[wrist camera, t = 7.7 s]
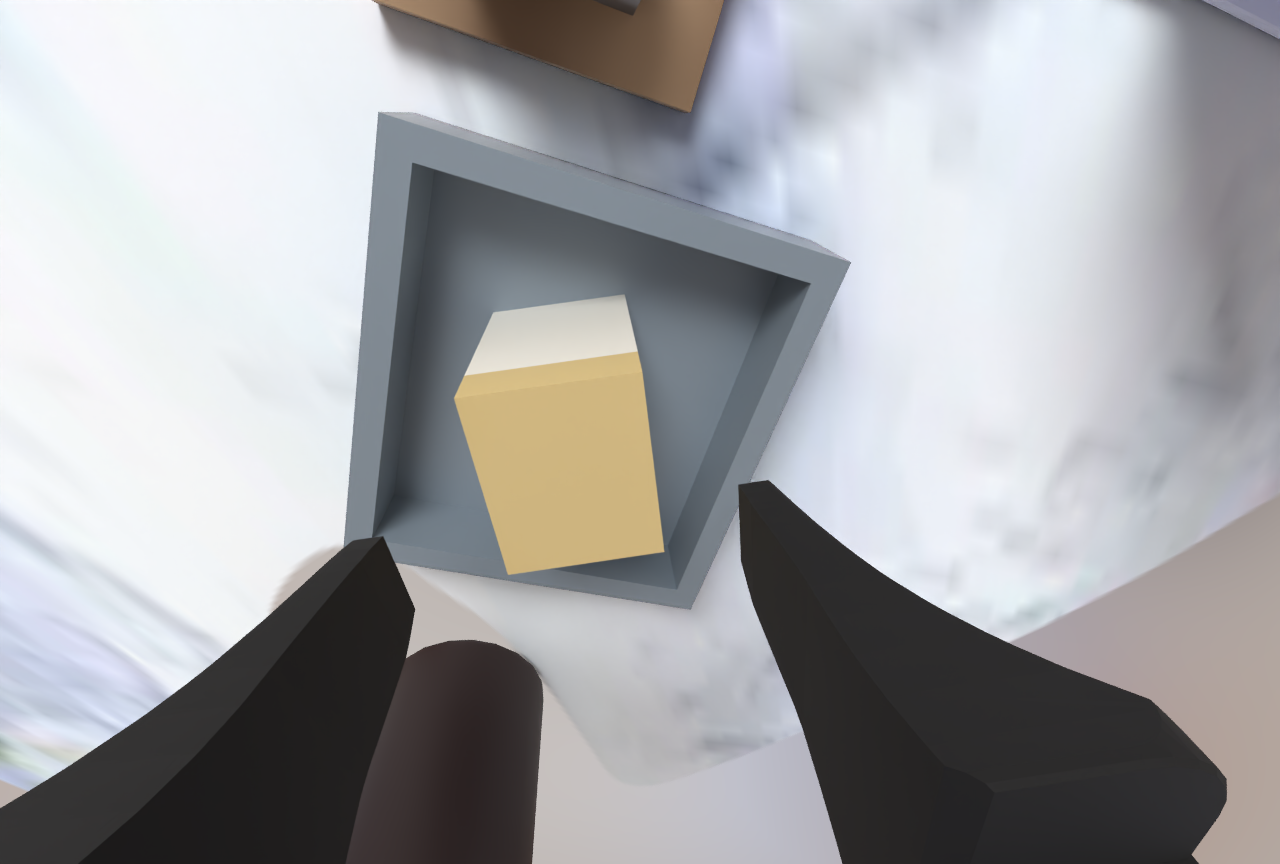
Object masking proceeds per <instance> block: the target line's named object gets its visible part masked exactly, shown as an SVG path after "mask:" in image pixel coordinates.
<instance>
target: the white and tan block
mask: <svg viewBox="0 0 1280 864" xmlns="http://www.w3.org/2000/svg"><path fill="white" fill-rule="evenodd" d="M454 400H455V404H456V407H457V410H458V413H459V417H460V420H461V423H462V426H463V430H464V433H465V436H466V439H467V443H468V446H469V449H470V452H471V456H472V459H473V462H474V466H475V469H476V472H477V475H478V479H479V482H480V485H481V488H482V492H483V495H484V498H485V501H486V505H487V508H488V511H489V514H490V518H491V521H492V524H493V527H494V531H495V534H496V537H497V540H498V544H499V547H500V550H501V554H502V557H503V560H504V563H505V567H506V570H507V573H508V575H511V574H518V573H524V572H531V571H538V570H545V569H552V568H558V567H565V566H572V565H579V564H586V563H592V562H599V561H606V560H613V559H620V558H626V557H633V556H640V555H647V554H654V553H660V552H664V544H663V536H662V528H661V520H660V512H659V503H658V495H657V487H656V479H655V471H654V463H653V454H652V446H651V438H650V430H649V422H648V414H647V405H646V397H645V389H644V381H643V373H642V368H641V364H640V359H639V355H638V350H637V346H636V342H635V337H634V333H633V329H632V324H631V320H630V315H629V311H628V307H627V302H626V298H625V294H623V295H616V296H609V297H602V298H594V299H587V300H580V301H573V302H566V303H558V304H551V305H544V306H537V307H529V308H522V309H515V310H508V311H500V312H493V314H492V316H491V319H490V321H489V323H488V325H487V327H486V330H485V332H484V334H483V336H482V338H481V340H480V343H479V345H478V347H477V349H476V351H475V354H474V356H473V358H472V360H471V362H470V364H469V367H468V369H467V371H466V373H465V375H464V378H463V380H462V382H461V384H460V386H459V388H458V391H457V393H456V395H455V397H454Z"/></svg>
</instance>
